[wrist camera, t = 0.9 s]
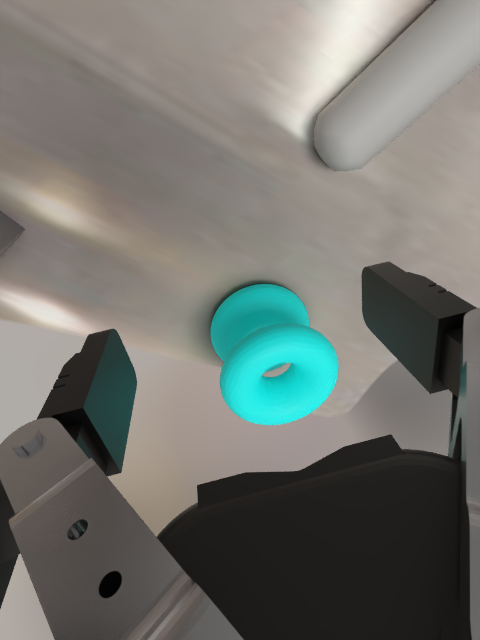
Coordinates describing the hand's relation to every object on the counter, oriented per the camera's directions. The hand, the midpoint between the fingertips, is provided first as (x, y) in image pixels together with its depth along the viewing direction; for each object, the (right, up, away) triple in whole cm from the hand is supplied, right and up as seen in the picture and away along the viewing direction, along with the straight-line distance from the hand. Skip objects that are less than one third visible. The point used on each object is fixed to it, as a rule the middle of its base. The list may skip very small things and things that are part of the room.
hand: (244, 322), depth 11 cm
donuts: (+2, 0, +25) cm, 25 cm away
